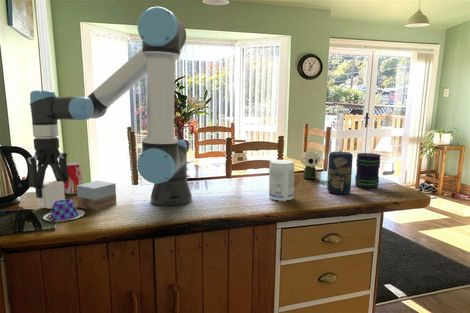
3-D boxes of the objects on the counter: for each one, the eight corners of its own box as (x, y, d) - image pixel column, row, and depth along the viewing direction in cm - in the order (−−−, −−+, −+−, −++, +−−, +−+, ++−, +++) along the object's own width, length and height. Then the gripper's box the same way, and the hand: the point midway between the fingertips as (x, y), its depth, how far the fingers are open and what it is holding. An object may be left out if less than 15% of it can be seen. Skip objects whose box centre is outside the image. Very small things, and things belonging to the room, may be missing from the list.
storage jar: (380, 186, 157) (382, 154, 155) (375, 191, 149) (378, 156, 147) (357, 184, 162) (359, 152, 160) (352, 188, 154) (354, 154, 152)
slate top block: (115, 194, 125) (115, 183, 124) (95, 200, 117) (94, 188, 117) (98, 191, 129) (98, 180, 129) (77, 196, 121) (76, 185, 121)
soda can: (75, 195, 137) (73, 165, 135) (59, 194, 138) (57, 164, 136) (86, 191, 143) (85, 162, 142) (71, 190, 145) (69, 161, 143)
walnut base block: (116, 205, 126) (116, 194, 125) (96, 211, 118) (96, 200, 117) (98, 201, 130) (97, 191, 129) (78, 208, 122) (77, 196, 121)
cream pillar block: (65, 204, 122) (63, 181, 121) (49, 208, 116) (47, 185, 115) (53, 202, 124) (51, 180, 123) (37, 206, 119) (35, 183, 118)
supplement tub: (286, 194, 142) (287, 158, 140) (298, 200, 133) (299, 162, 131) (264, 196, 139) (265, 160, 137) (275, 202, 130) (276, 163, 128)
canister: (325, 193, 144) (327, 150, 141) (328, 188, 152) (330, 148, 150) (349, 196, 140) (352, 152, 137) (351, 191, 149) (353, 149, 146)
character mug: (304, 180, 168) (305, 154, 166) (296, 177, 174) (297, 152, 172) (323, 179, 172) (324, 153, 170) (314, 176, 178) (316, 151, 176)
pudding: (80, 222, 107) (79, 205, 106) (37, 224, 105) (36, 207, 104) (88, 210, 119) (87, 195, 118) (50, 212, 116) (49, 197, 115)
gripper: (62, 134, 127) (67, 196, 130) (10, 139, 110) (17, 210, 113) (77, 135, 124) (81, 198, 127) (26, 140, 107) (33, 213, 110)
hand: (51, 203), depth 120 cm, fingers closed on cream pillar block, 6 cm apart
